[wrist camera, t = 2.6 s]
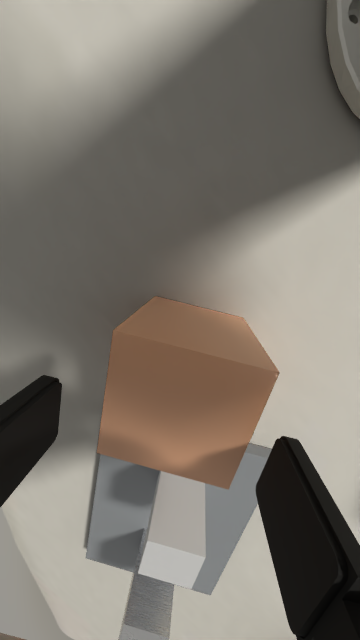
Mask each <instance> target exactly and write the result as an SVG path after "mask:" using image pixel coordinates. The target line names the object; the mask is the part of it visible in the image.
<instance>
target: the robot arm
mask: <svg viewBox="0 0 360 640" xmlns="http://www.w3.org/2000/svg"><path fill="white" fill-rule="evenodd" d="M326 36H327V43H328V50H329V58H330V64H331V67H332V70H333V73H334V76H335V79H336V82H337V85H338V88H339V91H340V92H341V94H342V96H343V97H344V99H345V101H346V102H347V104H348V105H349V107H350V109H351V110H352V112H353V113H354V114H355V115H356V116H357V117H358V118H359V119H360V0H327V15H326ZM61 390H62V384H61V383H59V379H57V378H54V377H50V376H46V375H43V376H41V377H40V378H38V379H37V380H35V381H34V382H33V383H31V384H30V385H28V386H27V387H25V388H24V389H23V390H21V391H20V392H18V393H17V394H16V395H14V396H13V397H11V398H10V399H9V400H7V401H6V402H4V403H3V404H2V405H0V507H1V506H2V505H3V504H4V502H5V501H6V500H7V499H8V497H9V496H10V495H11V494H12V493H13V491H14V490H15V489H16V488H17V486H18V485H19V484H20V483H21V482H22V480H23V479H24V478H25V477H26V475H27V474H28V473H29V472H30V470H31V469H32V468H33V467H34V466H35V464H36V463H37V462H38V461H39V459H40V458H41V457H42V456H43V454H44V453H45V452H46V451H47V450H48V448H49V447H50V446H51V445H52V443H53V442H54V441H55V439H56V437H57V434H58V425H59V413H60V401H61ZM256 497H257V501H258V505H259V509H260V513H261V517H262V521H263V525H264V529H265V533H266V537H267V540H268V544H269V548H270V552H271V556H272V560H273V564H274V568H275V572H276V576H277V580H278V584H279V588H280V592H281V596H282V600H283V604H284V607H285V611H286V615H287V619H288V623H289V626H290V628H291V631H292V632H293V634H295V635H296V637H297V640H360V545H359V543H358V542H357V540H356V538H355V537H354V535H353V533H352V531H351V530H350V528H349V526H348V524H347V523H346V521H345V519H344V517H343V516H342V514H341V512H340V511H339V509H338V507H337V505H336V504H335V502H334V500H333V498H332V497H331V495H330V493H329V492H328V490H327V488H326V486H325V485H324V483H323V481H322V479H321V478H320V476H319V474H318V473H317V471H316V469H315V467H314V466H313V464H312V462H311V460H310V459H309V457H308V455H307V453H306V452H305V450H304V448H303V447H302V445H301V443H300V442H299V440H297V439H293V438H289V437H286V436H282V437H281V438H280V439H277V440H276V441H275V444H274V446H273V448H272V450H271V453H270V455H269V457H268V459H267V462H266V464H265V466H264V468H263V471H262V473H261V475H260V477H259V479H258V482H257V484H256ZM0 640H25V639H21V638H17V637H14V636H10V635H7V634H3V633H0Z"/></svg>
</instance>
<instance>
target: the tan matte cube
mask: <svg viewBox="0 0 360 640" xmlns="http://www.w3.org/2000/svg"><path fill="white" fill-rule="evenodd" d="M278 375H279V371H278V370H277V368H276V367H275V365H274V363H273V362H272V360H271V359H270V357H269V356H268V354H267V353H266V351H265V350H264V348H263V347H262V345H261V344H260V342H259V341H258V339H257V338H256V336H255V335H254V333H253V332H252V330H251V329H250V327H249V326H248V324H247V323H246V321H245V320H244V318H242V317H238V316H234V315H230V314H226V313H222V312H218V311H214V310H210V309H206V308H202V307H198V306H194V305H189V304H185V303H181V302H177V301H173V300H169V299H165V298H161V297H157V296H155V297H153V298H152V299H151V300H150V301H148V302H147V303H146V304H145V305H144V306H142V307H141V308H140V309H139V310H137V311H136V312H135V313H134V314H132V315H131V316H130V317H129V318H127V319H126V320H125V321H124V322H123V323H121V324H120V325H119V326H118V327H116V328H115V329H114V330H113V335H112V342H111V350H110V357H109V365H108V372H107V380H106V387H105V395H104V402H103V410H102V417H101V424H100V432H99V439H98V447H97V453H99V454H102V455H106V456H109V457H113V458H116V459H120V460H124V461H127V462H131V463H134V464H138V465H142V466H145V467H149V468H152V469H156V470H160V471H163V472H167V473H170V474H174V475H177V476H181V477H185V478H188V479H192V480H195V481H199V482H203V483H206V484H210V485H213V486H217V487H221V488H224V489H228V490H229V488H230V485H231V483H232V481H233V478H234V476H235V474H236V472H237V469H238V467H239V465H240V462H241V460H242V458H243V456H244V453H245V451H246V449H247V446H248V444H249V442H250V439H251V437H252V435H253V433H254V430H255V428H256V426H257V423H258V421H259V419H260V416H261V414H262V412H263V410H264V407H265V405H266V403H267V400H268V398H269V396H270V393H271V391H272V389H273V387H274V384H275V382H276V380H277V377H278Z"/></svg>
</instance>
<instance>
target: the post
mask: <svg viewBox="0 0 360 640" xmlns="http://www.w3.org/2000/svg"><path fill="white" fill-rule="evenodd" d="M146 532H147V529H145V528H144V531H143V534H142V538H141V542H140V545H139V549H138V554H137V558H136V563H135V567H134V572H133V576H132V581H131V585H130V590H129V594H128V599H127V603H126V608H125V612H124V617H123V621H122V626H121V630H120V635H119V639H118V640H169V635H170V624H171V612H172V601H173V590H174V584H172V583H168V582H165V581H162V580H158V579H155V578H152V577H148V576H145V575H142V574H138V571H139V566H140V561H141V556H142V551H143V546H144V542H145V537H146Z"/></svg>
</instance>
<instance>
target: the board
mask: <svg viewBox="0 0 360 640" xmlns="http://www.w3.org/2000/svg"><path fill="white" fill-rule="evenodd" d="M271 450H272V449H270V448H266V447H262V446H258V445H255V444H251V443H249V444H248V446H247V449H246V451H245V453H244V456H243V458H242V460H241V462H240V465H239V467H238V469H237V472H236V474H235V476H234V478H233V481H232V483H231V485H230V488H229V490H228V489H224V488H221V487H217V486H213V485H210V484H206V483H203V482H199V481H195V480H192V479H188V478H185V477H181V476H177V475H174V474H170V473H167V472H163V471H160V470H156V469H152V468H149V467H145V466H142V465H138V464H134V463H131V462H127V461H124V460H120V459H116V458H113V457H109V456H106V455H102V454H100V461H99V468H98V475H97V482H96V489H95V496H94V503H93V510H92V517H91V524H90V531H89V538H88V545H87V552H86V558H87V559H90V560H94V561H97V562H100V563H104V564H107V565H110V566H114V567H117V568H120V569H124V570H127V571H130V572H134V567H135V563H136V558H137V554H138V549H139V545H140V542H141V538H142V534H143V531H144V528H145V529H147V532H146V537H145V542H144V546H143V551H142V556H141V561H140V566H139V571H138V574H142V575H145V576H148V577H152V578H155V579H158V580H162V581H165V582H168V583H172V584H174V585H177V586H181V587H184V588H187V589H191V590H194V591H198V592H201V593H204V594H208V595H211V593H212V591H213V589H214V587H215V586H216V584H217V582H218V580H219V578H220V576H221V574H222V572H223V570H224V568H225V566H226V564H227V562H228V560H229V558H230V556H231V554H232V553H233V551H234V549H235V547H236V545H237V543H238V541H239V539H240V537H241V535H242V533H243V531H244V529H245V527H246V525H247V523H248V521H249V520H250V518H251V516H252V514H253V512H254V510H255V508H256V506H257V504H258V501H257V497H256V484H257V482H258V479H259V477H260V475H261V473H262V471H263V468H264V466H265V464H266V462H267V459H268V457H269V455H270V453H271Z"/></svg>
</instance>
